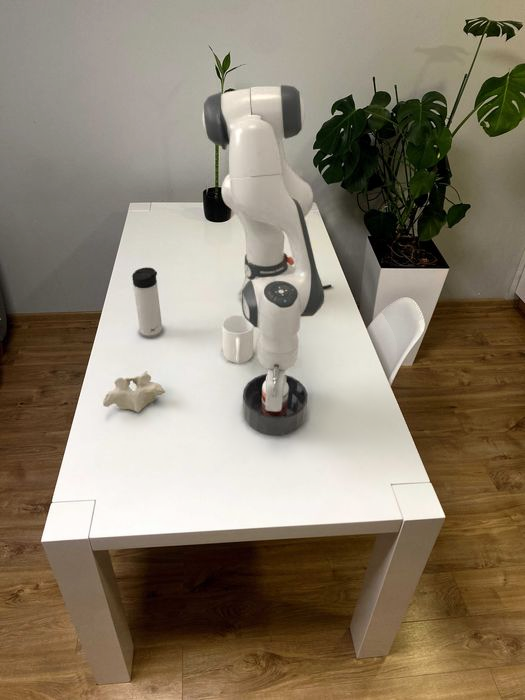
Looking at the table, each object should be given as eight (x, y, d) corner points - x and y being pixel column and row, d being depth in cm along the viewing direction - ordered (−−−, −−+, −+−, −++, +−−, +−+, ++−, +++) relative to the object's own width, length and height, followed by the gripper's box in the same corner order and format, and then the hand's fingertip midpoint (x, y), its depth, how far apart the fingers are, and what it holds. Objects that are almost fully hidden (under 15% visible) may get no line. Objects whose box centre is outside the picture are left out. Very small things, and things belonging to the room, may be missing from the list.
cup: (252, 343, 152) (253, 314, 146) (254, 372, 143) (255, 342, 137) (222, 344, 152) (222, 314, 145) (223, 373, 143) (222, 343, 136)
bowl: (284, 383, 140) (285, 365, 136) (318, 421, 130) (320, 403, 127) (231, 403, 134) (231, 386, 130) (263, 445, 124) (264, 427, 120)
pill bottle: (256, 411, 132) (256, 378, 124) (272, 397, 135) (274, 364, 128) (275, 424, 129) (278, 390, 121) (292, 410, 132) (294, 376, 125)
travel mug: (159, 340, 152) (151, 279, 140) (136, 336, 153) (127, 276, 141) (166, 326, 157) (160, 267, 144) (145, 323, 158) (136, 263, 145)
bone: (164, 406, 134) (165, 384, 129) (111, 428, 128) (109, 406, 122) (148, 381, 139) (148, 360, 133) (96, 401, 132) (93, 379, 127)
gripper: (290, 384, 112) (286, 430, 121) (293, 324, 127) (290, 368, 136) (259, 382, 112) (257, 428, 121) (266, 323, 128) (264, 367, 136)
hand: (275, 396), depth 129 cm, fingers closed on pill bottle, 6 cm apart
